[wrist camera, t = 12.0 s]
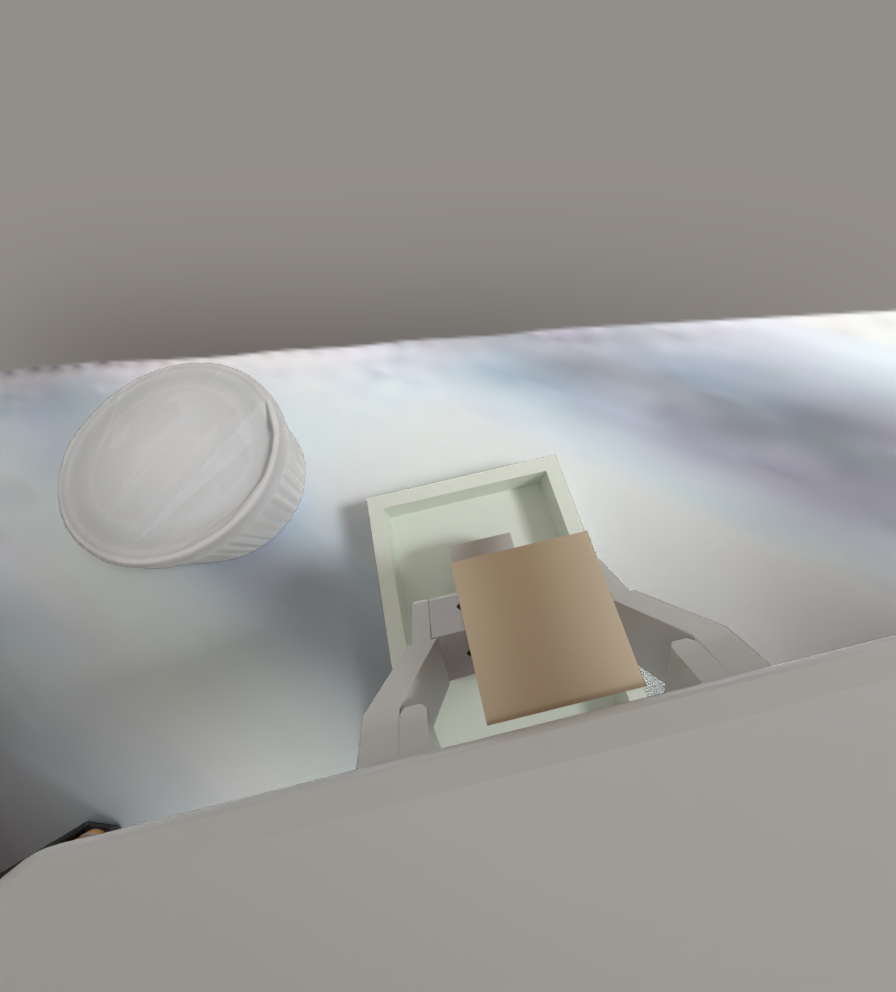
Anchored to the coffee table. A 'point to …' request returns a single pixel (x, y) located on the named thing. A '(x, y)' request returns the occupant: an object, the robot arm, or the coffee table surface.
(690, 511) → the coffee table surface
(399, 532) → the tray
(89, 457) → the ramekin
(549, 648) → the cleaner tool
